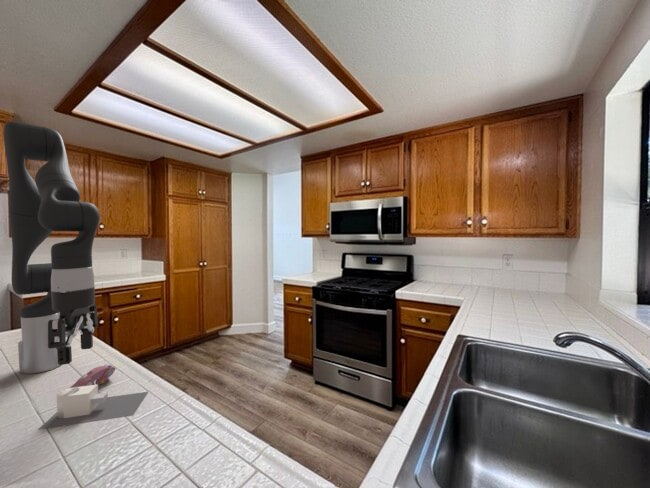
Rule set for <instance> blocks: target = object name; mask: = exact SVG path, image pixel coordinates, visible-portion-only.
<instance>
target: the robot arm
mask: <svg viewBox="0 0 650 488" xmlns="http://www.w3.org/2000/svg"><path fill="white" fill-rule="evenodd" d="M3 142H4V152H5V158H6V159H5V160H6V166H7V174H8V182H9V183H8V184H9V185H8V186H9V187H8V191H9V192H8V193H9V194H8V195H9V203H8V206H9V209H8V210H9V225H10V233H11V234H10V235H11V243H12V245H11V246H12V254H11V255H12V257H11V258H12V259H11V288H12V290H13V292H14V294H16V295H18V296H19V295H20V296H21V295H22V296H23V295H31V294H41V293H47V294H46V295H45V296H43V297H42V298H41V299H39V300H37V301H34V302H32V303H28V304H27V305H24V306H23V307H21V308H20V327H21V329H20V330H21V340H20V341H18V343H17V346H18V347H17V350H18V351H17V353H18V365H19V366H18V372H19V373H20V374H21V373H25V374H29V375H30V374H37V373H43V372H47V371H51V370H54V369H56V368H58V367H60V366H62V365H69V364H71V362H72V361H73V358H72V357H73V356H72V354H73V353H72V346H71V344H72V343H73V339H74V338H75V337H77V335H78V332H79V333H80V349H81V350H89V349H92V348H93V347H94V342H93V341H94V338H93V335H94V334H93V333H94V332H95V328H96V329H97V328H98V327H99V320H98V310H97V309H98V307H97V304H96V293H95V275H94V270H93V269H94V268H93V256H92V255H93V253H92V252H93V250H92V249H93V243H94V240H95V236H96V233H97V229H98V227H99V224H100V218H101V213H100V211H99V209H98V207H97V206H96V205H95V204H93V203H92V202H87V201H80V200H81V194H80V191H79V189H78V187H77V184H76V183H75V180H74V179H73V176H72V174H71V169H70V165H69V160H68V155H67V152H66V151H67V150H66V146H65V143H64V140H63V137H62V135H61V133H59V132H58V131H57V130H55V129H53V128H51V127H46V126H40V125H36V124H35V125H34V124H30V123H24V122H18V121H12V120H11V121H10V120H9V121H7V122H6V123H5V124H4V127H3ZM25 160H29V161H31V160H32V161H40V162H41V161H42V162H46V163H45V164H43V165H42V166H41V167H40V168H38V170H37V172H36V174H35V177H34V179H33V177H32V176H31V175H30V173H29V170H27V167H26V164H25ZM52 232H78V234H77V236H76V237H75V238H74V239H72V240H68V241H62V242H61V241H60V242H56V243H54V244H52V245H51V247H50V256H51V257H50V259H51V260H50V261H51V262H49V263H47V262H46V263H31V264H28V263H29V260H30V259H31V257H32V255H33V253H34V252H35V251H36V249H38V247H40V245H41V244H42V243H43V242H44V241H45V240H46V239H47V238H48V237H49V236H50V235H51V234H52Z"/></svg>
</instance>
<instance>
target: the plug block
mask: <svg viewBox="0 0 650 488" xmlns="http://www.w3.org/2000/svg"><path fill="white" fill-rule="evenodd" d="M108 393H109V392H101V393H99V385H96V384H95V385H89V386H81V387H73V388H70V387H68V388H66V389H63V390H61V391H59V392H58V393H56V413H57V417H58V418H68V417H75V416H82V415H89V414H90V413H91V412H92V411H93V410H94V409H95V408H96V407H97V406H98V404H99V403H103V402H104V401H105V400H106V399H107V398H108V397H109V394H108Z"/></svg>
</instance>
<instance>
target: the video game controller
mask: <svg viewBox="0 0 650 488" xmlns="http://www.w3.org/2000/svg"><path fill="white" fill-rule="evenodd" d="M115 371H116V367H115V366H113V365H111V364H108V363H105V364H104V365H100V366H97V367H93V368H92V369H90V370H88V372H87V373H85V374H83V375H81V377H79V378H78V379H77V380H76V382H75V383H74V384H72V385H71V386H70V387H69V388H73V387H81V386H89V385H98V386H100V385H103V384H104V383H105V382H106V381H107V380H108V379H109V378H110V377H111V376H112V375H114V373H115Z"/></svg>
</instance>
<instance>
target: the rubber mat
mask: <svg viewBox="0 0 650 488" xmlns="http://www.w3.org/2000/svg"><path fill="white" fill-rule="evenodd" d="M148 394H149V391H145V392H143V391H142V392H136V393H135V392H134V393H128V394H121V395H113V396H108V398H107V399H106V400H105V401H104V402H103V403H99V404H98V406H97V407H96V408H95V409H94V410H93V411H92V412H91V413H90V414H89V415H82V416H75V417H68V418H58V417H57V412H55V413H54V414H53V415H52V416H51V417H49V419H47V420H46V422H44V423H43V424H42V425H41V426H40V427H39V428H38V431H39V430H45V429H53V428H59V427H64V426H71V425H78V424H79V425H80V424H85V423H91V422H98V421H104V420H113V419H119V418H124V417H131V416H134V415H135V414H136V412H137V410H138V408H139V407H140V406H141V405H142V403H143V401H144V400H145V398H146V397H147V395H148Z"/></svg>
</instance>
